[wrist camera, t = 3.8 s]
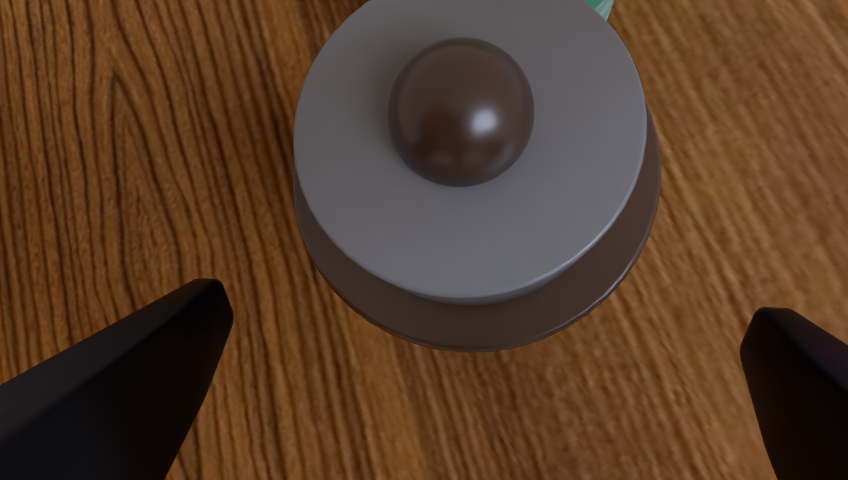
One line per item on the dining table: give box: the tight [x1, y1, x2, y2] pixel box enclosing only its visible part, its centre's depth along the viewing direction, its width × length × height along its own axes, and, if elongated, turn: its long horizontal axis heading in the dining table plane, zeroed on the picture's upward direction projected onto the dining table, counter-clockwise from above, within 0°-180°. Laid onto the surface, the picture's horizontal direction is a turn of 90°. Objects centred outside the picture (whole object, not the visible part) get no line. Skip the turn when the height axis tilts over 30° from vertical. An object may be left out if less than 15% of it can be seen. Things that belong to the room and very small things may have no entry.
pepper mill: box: [293, 0, 661, 352], centre depth 11 cm, size 5×5×14 cm
